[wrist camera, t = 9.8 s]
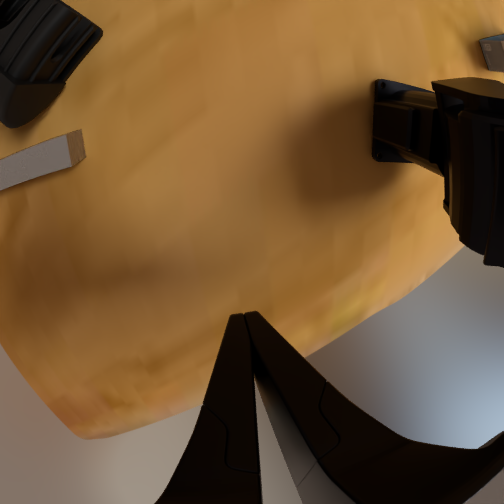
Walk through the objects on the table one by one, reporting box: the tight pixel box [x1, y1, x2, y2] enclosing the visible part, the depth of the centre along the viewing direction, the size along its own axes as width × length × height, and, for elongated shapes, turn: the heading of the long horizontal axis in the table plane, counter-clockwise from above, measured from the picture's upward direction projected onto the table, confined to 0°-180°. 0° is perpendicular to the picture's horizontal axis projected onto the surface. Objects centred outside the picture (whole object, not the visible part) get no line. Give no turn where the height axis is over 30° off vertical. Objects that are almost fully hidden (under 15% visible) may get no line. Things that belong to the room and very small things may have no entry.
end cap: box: [0, 0, 103, 128], centre depth 7 cm, size 10×7×7 cm
